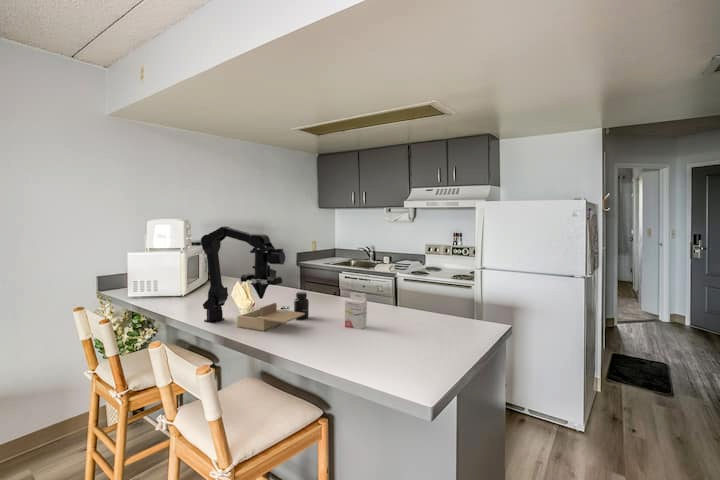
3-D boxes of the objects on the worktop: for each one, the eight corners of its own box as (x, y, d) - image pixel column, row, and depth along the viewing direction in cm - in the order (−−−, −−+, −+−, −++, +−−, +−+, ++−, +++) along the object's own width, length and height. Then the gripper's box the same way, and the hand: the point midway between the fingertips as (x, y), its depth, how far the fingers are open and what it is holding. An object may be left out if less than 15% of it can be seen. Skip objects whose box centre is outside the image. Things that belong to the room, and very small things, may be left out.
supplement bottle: (305, 320, 172) (305, 294, 171) (291, 319, 173) (291, 294, 172) (310, 316, 179) (310, 291, 178) (297, 315, 180) (297, 291, 179)
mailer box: (237, 327, 161) (237, 316, 160) (258, 319, 174) (258, 308, 173) (263, 331, 155) (263, 319, 155) (283, 322, 168) (283, 311, 168)
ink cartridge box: (344, 327, 162) (344, 293, 161) (349, 324, 167) (349, 291, 166) (362, 329, 158) (362, 295, 158) (367, 326, 163) (367, 293, 162)
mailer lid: (256, 318, 156) (256, 309, 156) (277, 310, 169) (277, 301, 169) (285, 323, 150) (285, 313, 150) (305, 314, 163) (304, 305, 163)
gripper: (289, 262, 167) (289, 297, 168) (256, 260, 175) (256, 293, 176) (274, 265, 157) (274, 302, 158) (239, 262, 165) (239, 297, 166)
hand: (261, 298), depth 165 cm, fingers closed
